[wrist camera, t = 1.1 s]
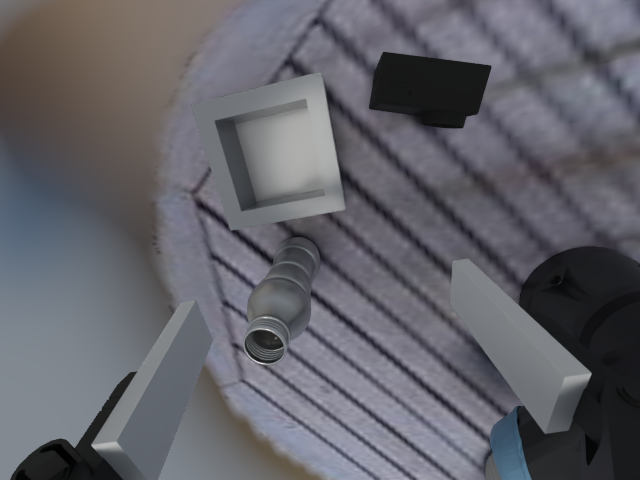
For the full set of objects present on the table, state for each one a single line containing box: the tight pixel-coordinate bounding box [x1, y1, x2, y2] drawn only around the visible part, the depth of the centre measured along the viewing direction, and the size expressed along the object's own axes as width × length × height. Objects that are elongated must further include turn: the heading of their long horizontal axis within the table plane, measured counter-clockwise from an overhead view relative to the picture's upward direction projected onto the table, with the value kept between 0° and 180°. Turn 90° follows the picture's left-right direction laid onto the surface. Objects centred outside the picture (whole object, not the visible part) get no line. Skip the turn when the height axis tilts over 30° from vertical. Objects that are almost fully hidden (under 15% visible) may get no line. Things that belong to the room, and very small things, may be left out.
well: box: [191, 72, 346, 231], centre depth 34 cm, size 14×14×7 cm
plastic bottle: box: [243, 237, 320, 365], centre depth 32 cm, size 6×7×20 cm
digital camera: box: [369, 52, 491, 128], centre depth 30 cm, size 10×5×7 cm, turn 83°
